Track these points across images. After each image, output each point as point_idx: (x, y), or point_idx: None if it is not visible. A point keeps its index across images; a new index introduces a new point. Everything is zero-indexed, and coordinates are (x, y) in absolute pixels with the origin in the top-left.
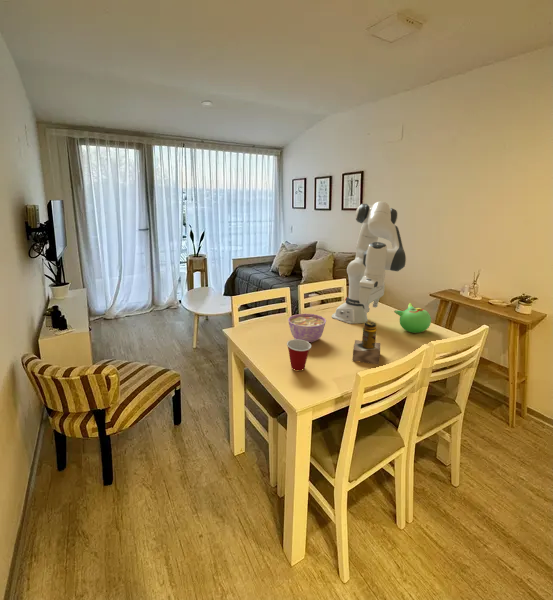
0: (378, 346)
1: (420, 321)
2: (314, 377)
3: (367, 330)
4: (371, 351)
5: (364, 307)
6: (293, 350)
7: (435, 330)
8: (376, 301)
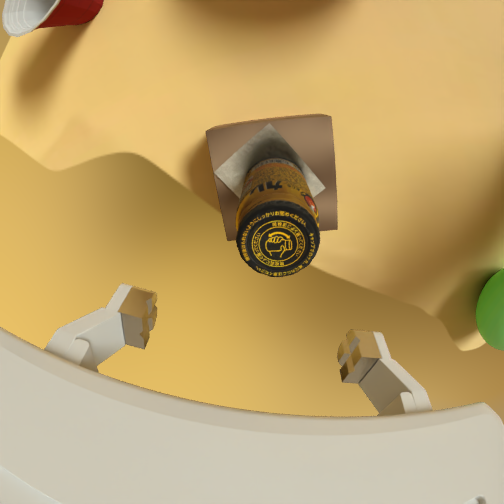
0: None
1: (487, 334)
2: (60, 72)
3: (237, 216)
4: (229, 207)
5: (91, 315)
6: (10, 8)
7: None
8: (377, 391)
